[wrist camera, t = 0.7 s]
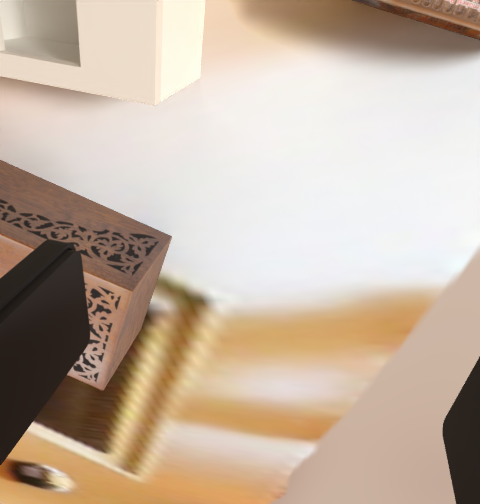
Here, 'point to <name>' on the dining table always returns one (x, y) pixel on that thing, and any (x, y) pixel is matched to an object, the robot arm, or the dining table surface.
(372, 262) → the dining table surface
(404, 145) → the dining table surface
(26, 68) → the white rectangular block
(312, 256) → the dining table surface
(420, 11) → the tin
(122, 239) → the tissue box cover
